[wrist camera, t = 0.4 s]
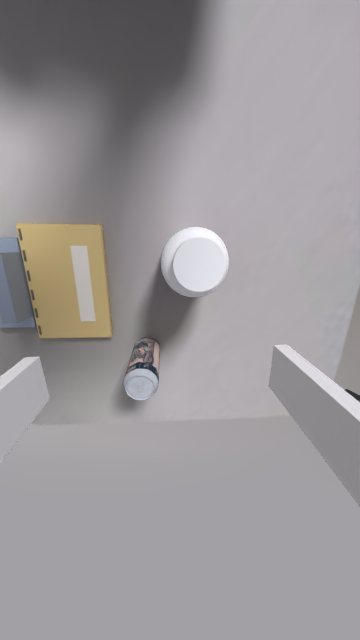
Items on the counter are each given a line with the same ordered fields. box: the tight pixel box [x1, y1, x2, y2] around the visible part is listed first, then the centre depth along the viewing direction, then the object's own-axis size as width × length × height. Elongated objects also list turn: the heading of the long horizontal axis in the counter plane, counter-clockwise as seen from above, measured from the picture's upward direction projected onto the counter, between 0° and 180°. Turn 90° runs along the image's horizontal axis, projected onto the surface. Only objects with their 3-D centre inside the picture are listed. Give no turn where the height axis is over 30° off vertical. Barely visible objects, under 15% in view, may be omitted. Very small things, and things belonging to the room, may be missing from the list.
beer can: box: [123, 338, 160, 400], centre depth 35 cm, size 5×5×12 cm
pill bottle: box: [161, 227, 229, 297], centre depth 29 cm, size 8×8×14 cm
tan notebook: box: [15, 223, 113, 338], centre depth 35 cm, size 18×12×1 cm, turn 0°
